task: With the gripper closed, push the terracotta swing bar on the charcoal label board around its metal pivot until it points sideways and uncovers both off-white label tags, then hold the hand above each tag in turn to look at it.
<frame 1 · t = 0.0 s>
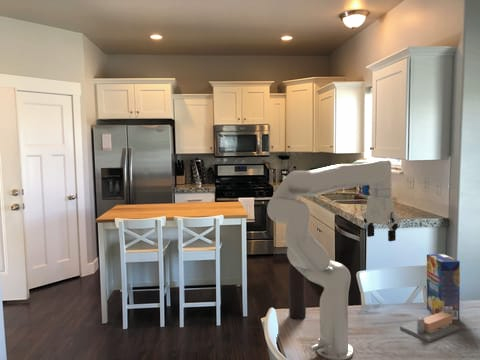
hand: (381, 238, 139), 37 cm above the table, tool pointing down, fingers open, 9 cm apart
label board: (428, 329, 144), on the table
juice carton: (442, 314, 158), on the table
wine bottle: (297, 316, 160), on the table
swing bar: (435, 321, 144), point 3 cm above the table, hinge at 0.0°
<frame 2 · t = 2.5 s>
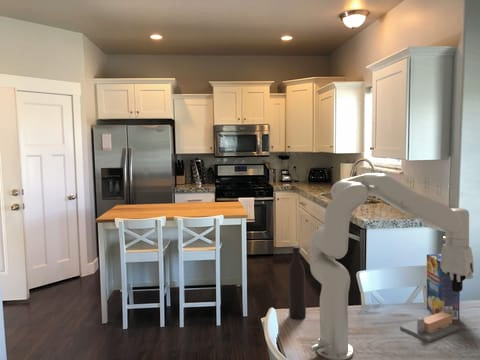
hand: (457, 290, 138), 17 cm above the table, tool pointing down, fingers closed
nothing on the table moved.
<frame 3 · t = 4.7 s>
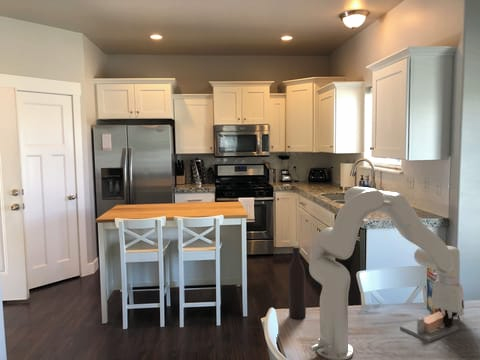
hand: (448, 326, 142), 2 cm above the table, tool pointing down, fingers closed
swing bar: (434, 320, 144), point 3 cm above the table, hinge at 3.0°, touching gripper
everything else where it was.
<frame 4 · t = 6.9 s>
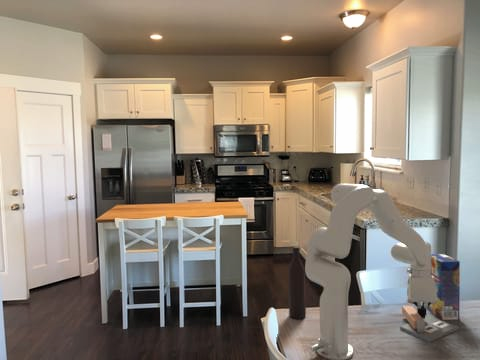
hand: (421, 316, 149), 3 cm above the table, tool pointing down, fingers closed
swing bar: (412, 316, 148), point 3 cm above the table, hinge at 53.7°, touching gripper
everything else where it was.
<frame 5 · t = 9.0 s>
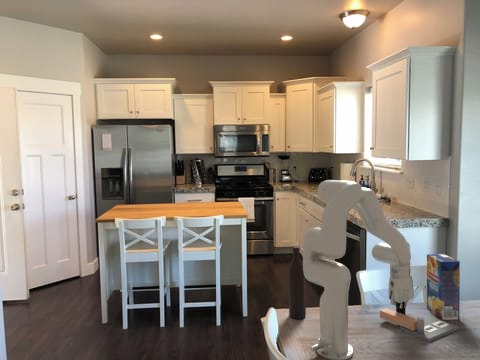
hand: (400, 316, 151), 3 cm above the table, tool pointing down, fingers closed
swing bar: (398, 318, 147), point 3 cm above the table, hinge at 94.5°
everything else where it was.
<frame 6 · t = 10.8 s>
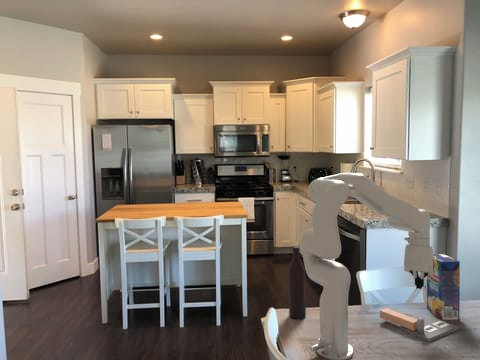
hand: (419, 287, 145), 16 cm above the table, tool pointing down, fingers closed
nothing on the table moved.
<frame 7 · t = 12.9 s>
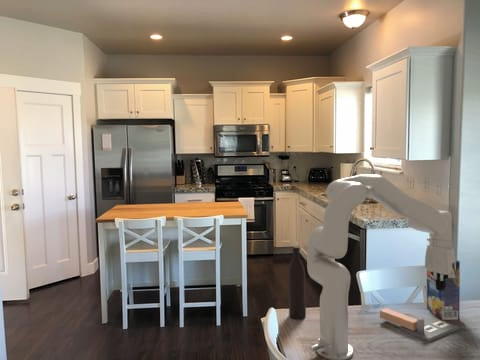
hand: (440, 289, 144), 15 cm above the table, tool pointing down, fingers closed
nothing on the table moved.
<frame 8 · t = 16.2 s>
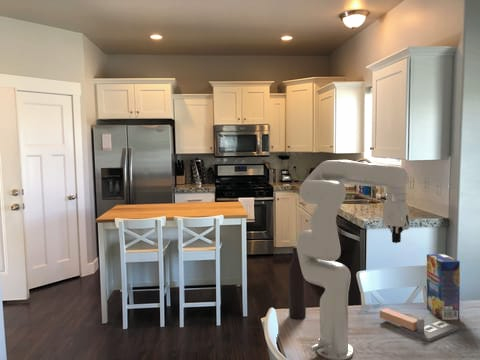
hand: (396, 242, 153), 32 cm above the table, tool pointing down, fingers closed
nothing on the table moved.
at the end: swing bar at +94° (first picture: +0°) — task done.
